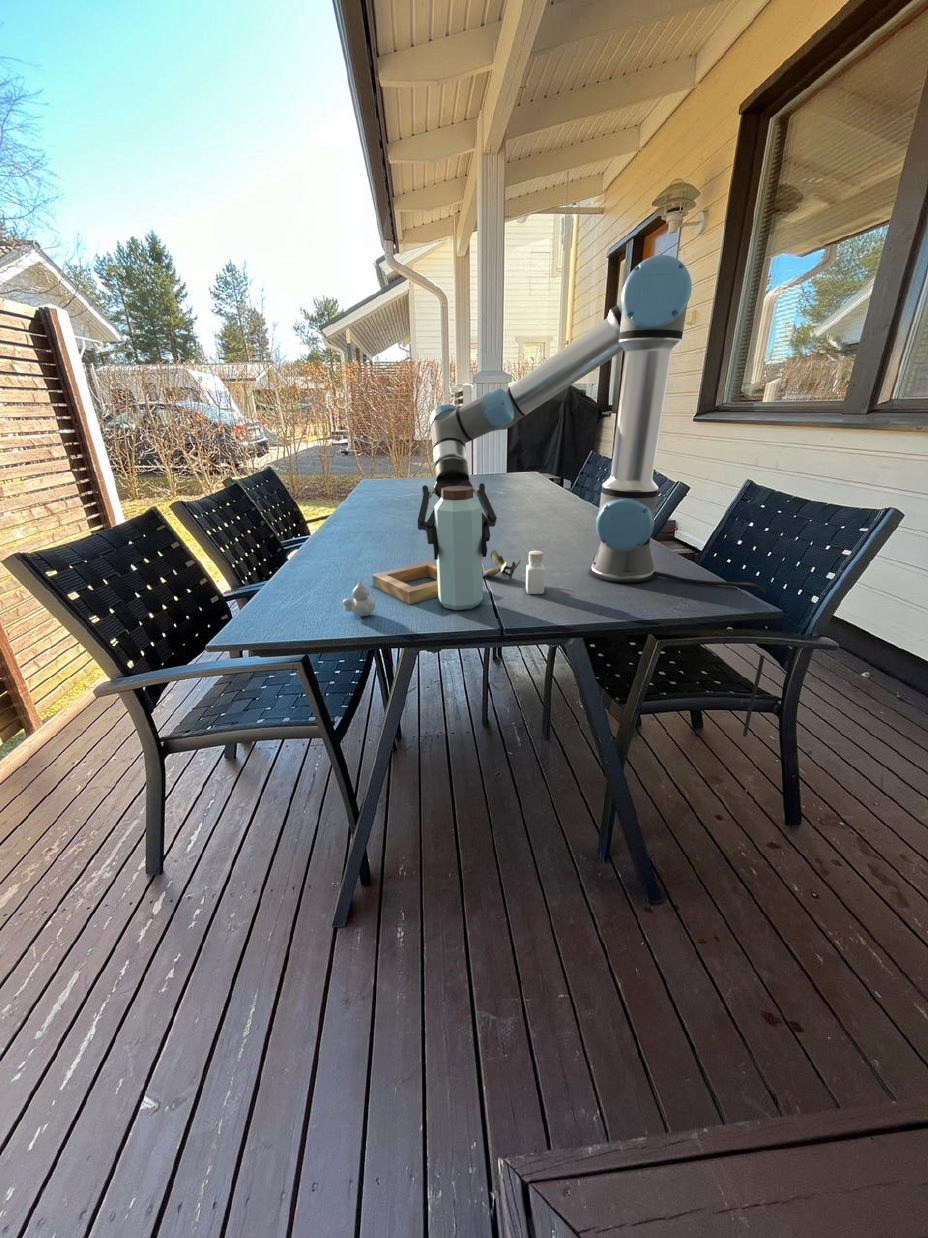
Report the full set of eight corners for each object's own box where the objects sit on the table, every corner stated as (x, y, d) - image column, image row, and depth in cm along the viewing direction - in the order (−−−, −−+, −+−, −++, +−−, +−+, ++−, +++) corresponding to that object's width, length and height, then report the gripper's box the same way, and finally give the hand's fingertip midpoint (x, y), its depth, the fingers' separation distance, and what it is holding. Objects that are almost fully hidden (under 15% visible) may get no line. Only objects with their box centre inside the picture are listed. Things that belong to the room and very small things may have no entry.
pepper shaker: (526, 594, 121) (527, 554, 117) (525, 589, 124) (526, 550, 121) (544, 594, 121) (545, 554, 117) (542, 589, 124) (543, 550, 121)
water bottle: (478, 612, 111) (477, 492, 101) (432, 610, 113) (427, 492, 103) (486, 596, 120) (485, 484, 110) (443, 594, 122) (439, 484, 112)
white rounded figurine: (375, 619, 110) (372, 582, 107) (343, 621, 109) (339, 584, 106) (376, 609, 115) (373, 574, 111) (345, 611, 114) (341, 576, 111)
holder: (469, 587, 126) (469, 576, 125) (410, 604, 117) (409, 591, 116) (430, 572, 139) (429, 561, 138) (373, 586, 130) (372, 574, 128)
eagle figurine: (522, 570, 135) (492, 559, 139) (519, 552, 129) (488, 541, 133) (507, 592, 132) (477, 580, 136) (504, 574, 126) (472, 562, 130)
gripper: (497, 476, 122) (510, 560, 113) (402, 479, 120) (407, 566, 111) (502, 454, 115) (515, 542, 106) (400, 458, 113) (406, 548, 104)
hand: (460, 555), depth 109 cm, fingers closed on water bottle, 9 cm apart
